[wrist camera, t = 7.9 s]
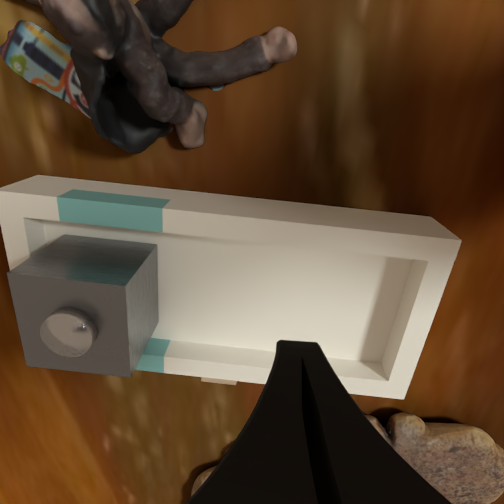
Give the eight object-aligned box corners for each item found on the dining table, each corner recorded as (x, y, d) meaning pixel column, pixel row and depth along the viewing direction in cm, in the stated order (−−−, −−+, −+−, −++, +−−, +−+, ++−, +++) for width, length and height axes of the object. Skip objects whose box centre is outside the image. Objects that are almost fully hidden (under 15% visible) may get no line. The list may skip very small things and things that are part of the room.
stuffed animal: (307, 133, 17) (37, 197, 12) (218, 131, 25) (31, 170, 20) (280, -213, 13) (-184, -346, 7) (180, -81, 20) (-77, -101, 15)
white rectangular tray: (431, 216, 20) (462, 240, 16) (375, 392, 25) (390, 435, 22) (38, 174, 20) (-7, 190, 17) (66, 357, 25) (36, 395, 22)
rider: (157, 244, 19) (119, 293, 14) (158, 321, 21) (126, 387, 16) (64, 234, 19) (-4, 279, 14) (74, 312, 21) (18, 375, 16)
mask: (146, 480, 26) (519, 425, 20) (161, 439, 30) (489, 379, 23) (223, 580, 32) (534, 559, 26) (229, 536, 35) (508, 508, 29)
